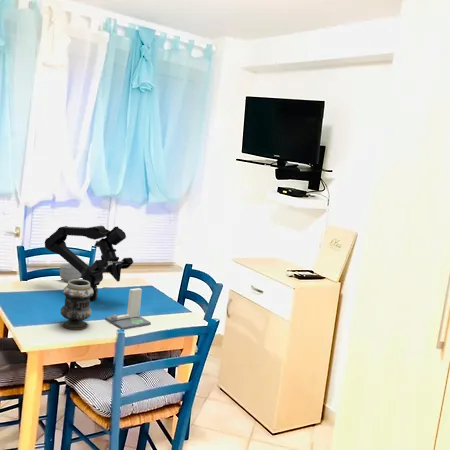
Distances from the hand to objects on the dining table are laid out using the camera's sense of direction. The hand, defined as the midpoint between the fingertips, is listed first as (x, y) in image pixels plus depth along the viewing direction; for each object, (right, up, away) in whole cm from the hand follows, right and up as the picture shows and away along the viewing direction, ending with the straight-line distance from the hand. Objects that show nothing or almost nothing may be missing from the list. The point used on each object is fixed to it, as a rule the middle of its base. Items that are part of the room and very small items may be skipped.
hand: (118, 281), depth 237 cm
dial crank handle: (+4, -15, -9) cm, 18 cm away
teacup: (-31, -4, +39) cm, 49 cm away
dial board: (+6, -16, -10) cm, 20 cm away
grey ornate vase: (-13, -16, -21) cm, 29 cm away
